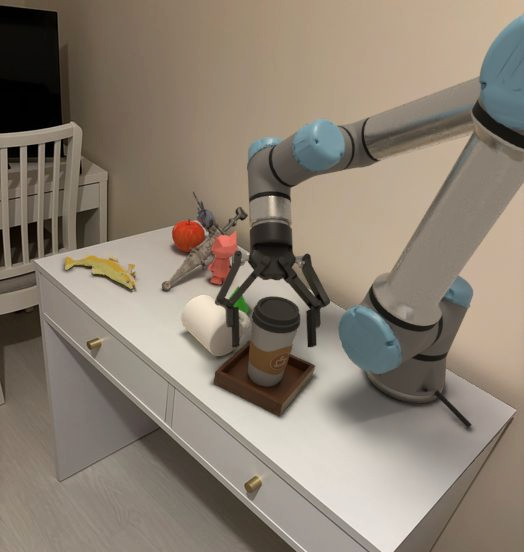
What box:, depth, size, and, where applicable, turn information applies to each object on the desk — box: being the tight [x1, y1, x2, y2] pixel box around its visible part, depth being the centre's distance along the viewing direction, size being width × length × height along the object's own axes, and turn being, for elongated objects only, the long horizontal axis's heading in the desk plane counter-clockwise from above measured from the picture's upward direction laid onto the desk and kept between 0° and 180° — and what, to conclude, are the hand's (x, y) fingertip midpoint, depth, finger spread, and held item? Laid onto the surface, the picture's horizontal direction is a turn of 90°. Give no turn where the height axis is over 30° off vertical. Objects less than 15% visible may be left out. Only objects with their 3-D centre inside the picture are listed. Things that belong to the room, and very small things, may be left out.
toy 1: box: [64, 253, 138, 290], centre depth 121 cm, size 20×3×10 cm
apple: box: [171, 218, 206, 253], centre depth 134 cm, size 8×8×8 cm
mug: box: [180, 294, 251, 357], centre depth 107 cm, size 12×10×8 cm
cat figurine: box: [207, 230, 239, 285], centre depth 123 cm, size 7×7×12 cm
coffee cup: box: [248, 296, 301, 387], centre depth 96 cm, size 8×8×15 cm
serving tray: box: [213, 339, 316, 417], centre depth 100 cm, size 14×14×3 cm
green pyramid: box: [228, 285, 249, 315], centre depth 117 cm, size 6×6×6 cm
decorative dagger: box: [161, 206, 249, 291], centre depth 127 cm, size 7×2×30 cm
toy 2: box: [192, 191, 217, 231], centre depth 136 cm, size 15×4×15 cm
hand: (274, 346), depth 94 cm, fingers open, 13 cm apart
